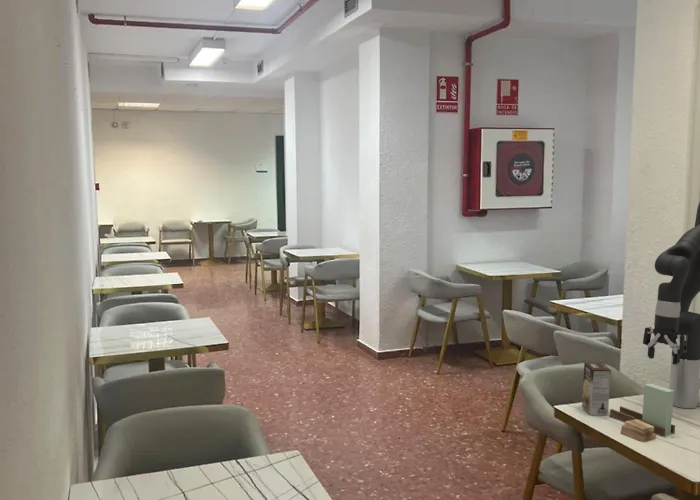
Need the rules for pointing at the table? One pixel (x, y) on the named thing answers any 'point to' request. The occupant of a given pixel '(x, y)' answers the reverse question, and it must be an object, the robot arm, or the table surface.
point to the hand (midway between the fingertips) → (662, 361)
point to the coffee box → (596, 388)
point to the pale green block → (658, 406)
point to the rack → (631, 415)
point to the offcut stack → (638, 430)
